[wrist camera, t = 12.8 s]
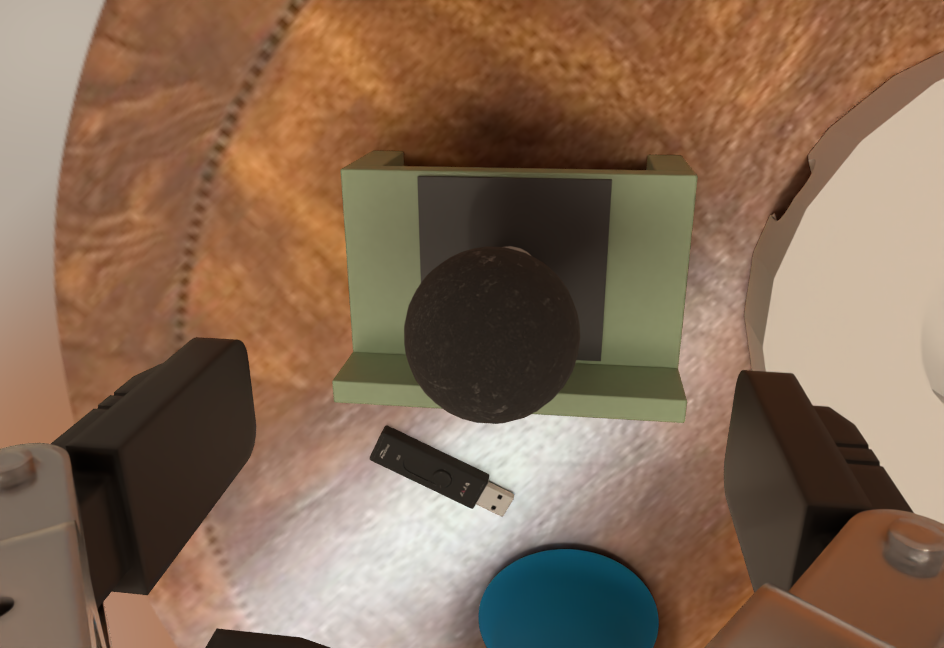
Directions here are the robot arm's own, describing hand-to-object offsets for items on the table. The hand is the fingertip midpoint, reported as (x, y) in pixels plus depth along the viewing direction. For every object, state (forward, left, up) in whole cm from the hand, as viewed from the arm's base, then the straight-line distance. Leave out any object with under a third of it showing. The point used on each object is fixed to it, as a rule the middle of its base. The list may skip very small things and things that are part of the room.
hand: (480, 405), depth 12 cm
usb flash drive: (-5, -16, -24) cm, 29 cm away
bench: (-1, -4, -24) cm, 24 cm away
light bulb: (-1, -3, -19) cm, 19 cm away
